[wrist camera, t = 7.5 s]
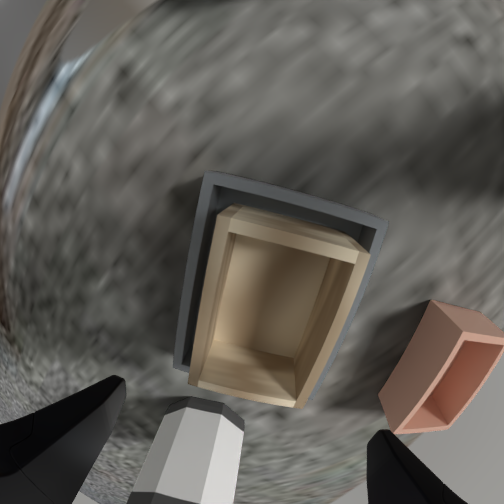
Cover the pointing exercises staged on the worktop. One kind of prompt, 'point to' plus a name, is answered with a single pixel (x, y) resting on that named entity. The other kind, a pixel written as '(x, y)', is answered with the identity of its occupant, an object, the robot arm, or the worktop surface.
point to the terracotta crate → (441, 369)
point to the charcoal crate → (278, 201)
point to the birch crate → (272, 305)
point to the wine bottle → (192, 456)
